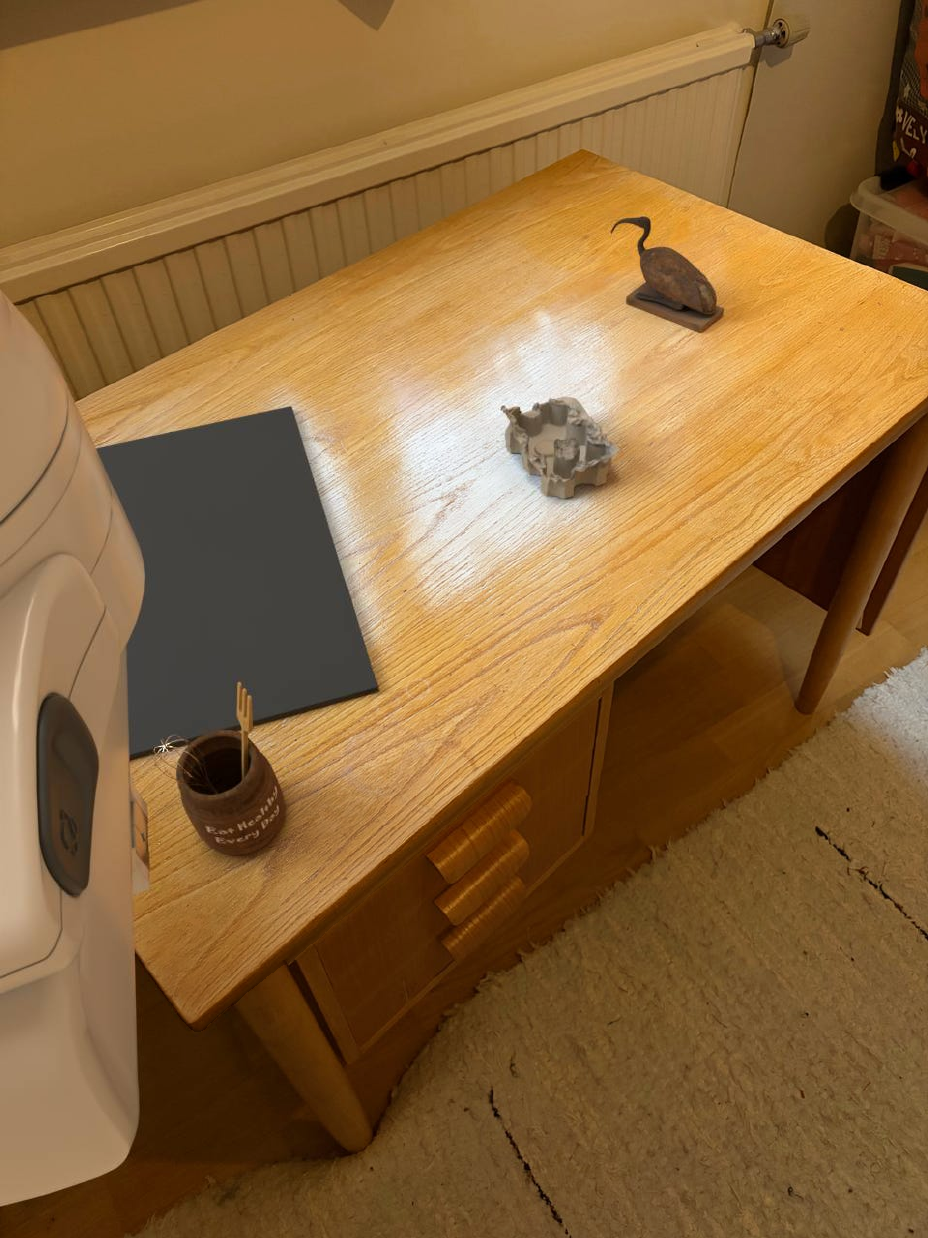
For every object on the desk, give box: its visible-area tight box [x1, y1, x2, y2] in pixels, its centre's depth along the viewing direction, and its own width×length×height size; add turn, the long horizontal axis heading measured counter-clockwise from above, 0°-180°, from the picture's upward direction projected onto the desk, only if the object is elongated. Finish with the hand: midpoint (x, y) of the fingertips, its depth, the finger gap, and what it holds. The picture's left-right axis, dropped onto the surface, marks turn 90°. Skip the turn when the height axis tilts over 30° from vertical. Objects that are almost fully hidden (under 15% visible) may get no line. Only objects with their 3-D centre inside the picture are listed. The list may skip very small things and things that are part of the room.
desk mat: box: [95, 405, 380, 761], centre depth 74 cm, size 20×36×1 cm, turn 17°
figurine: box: [610, 215, 725, 334], centre depth 94 cm, size 14×4×9 cm, turn 49°
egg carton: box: [500, 396, 621, 499], centre depth 79 cm, size 11×8×4 cm
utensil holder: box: [154, 682, 286, 856], centre depth 54 cm, size 6×6×12 cm
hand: (124, 856), depth 28 cm, fingers closed
